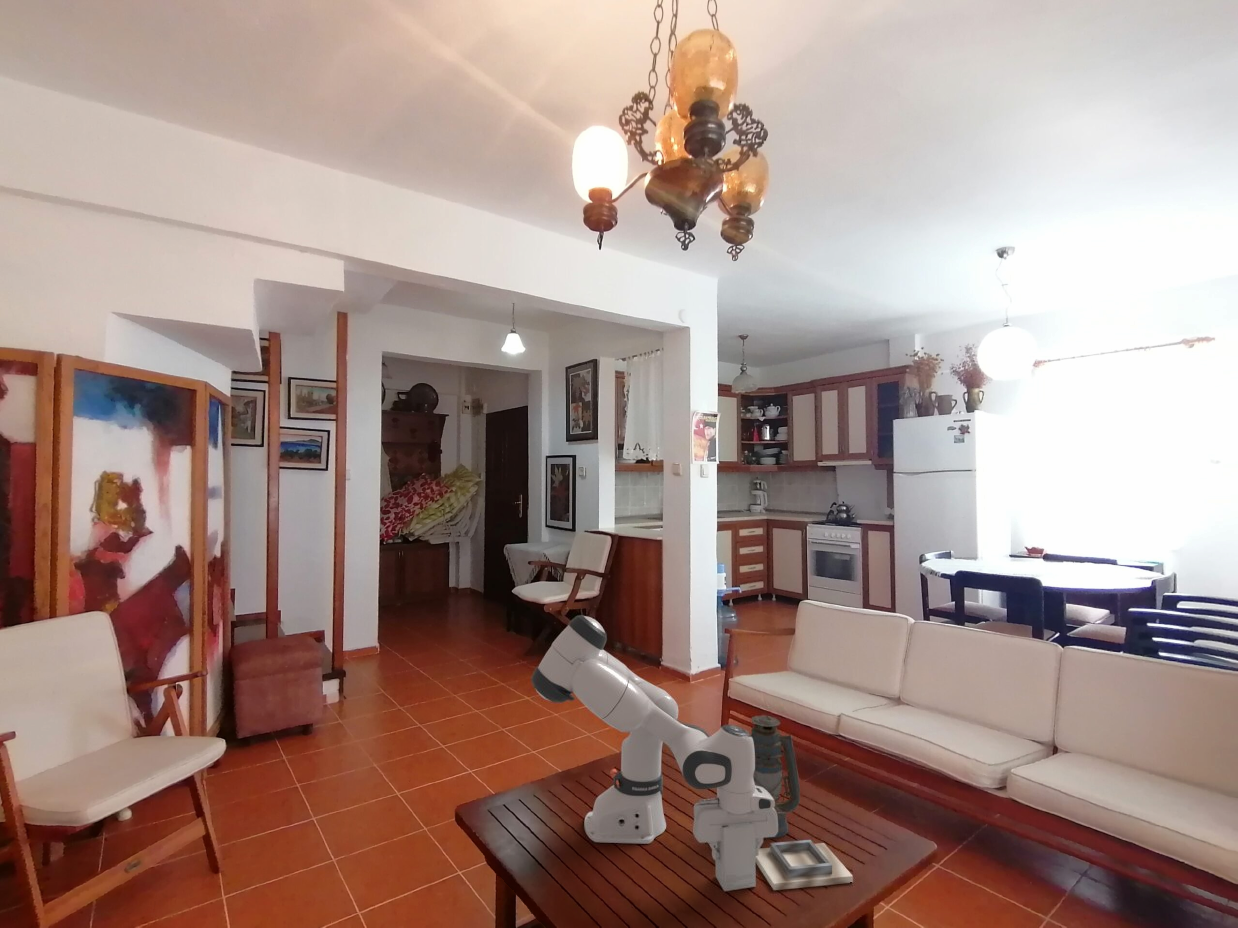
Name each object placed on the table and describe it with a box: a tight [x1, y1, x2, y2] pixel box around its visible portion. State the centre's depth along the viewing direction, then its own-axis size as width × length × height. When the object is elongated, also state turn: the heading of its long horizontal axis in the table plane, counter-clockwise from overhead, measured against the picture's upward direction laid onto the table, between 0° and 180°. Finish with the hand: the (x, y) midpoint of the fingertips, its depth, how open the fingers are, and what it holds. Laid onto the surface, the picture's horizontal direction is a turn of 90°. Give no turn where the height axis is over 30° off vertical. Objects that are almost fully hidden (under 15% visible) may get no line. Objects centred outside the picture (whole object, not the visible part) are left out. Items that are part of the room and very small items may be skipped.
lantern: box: [750, 714, 801, 839], centre depth 174 cm, size 19×14×30 cm
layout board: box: [755, 839, 854, 891], centre depth 155 cm, size 20×14×4 cm
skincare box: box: [714, 822, 757, 892], centre depth 149 cm, size 8×6×15 cm
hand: (735, 856), depth 149 cm, fingers closed on skincare box, 8 cm apart
